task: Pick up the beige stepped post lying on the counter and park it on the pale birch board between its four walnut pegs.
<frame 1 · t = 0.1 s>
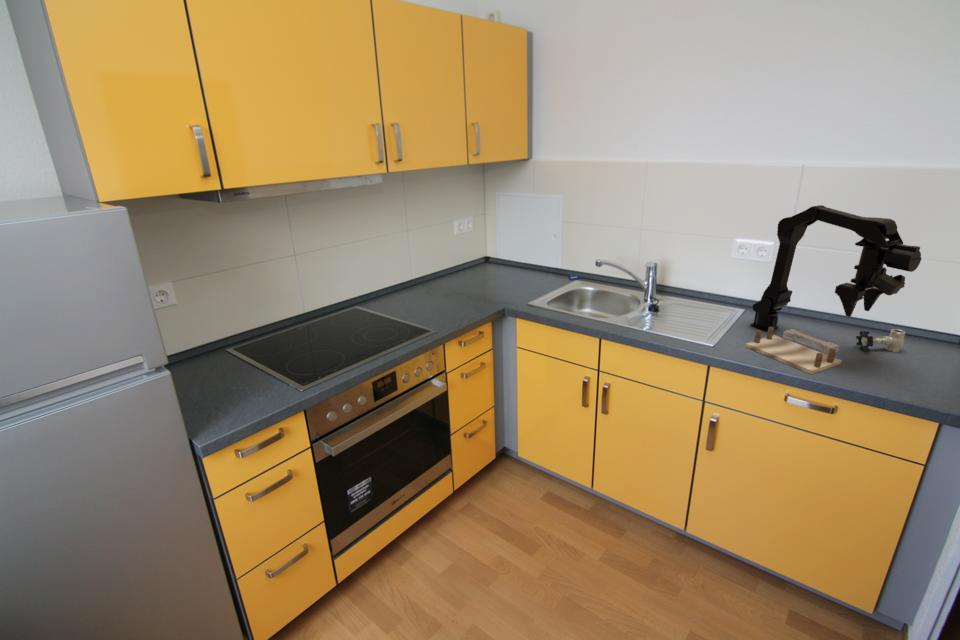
hand: (857, 313, 150), 14 cm above the worktop, tool pointing down, fingers open, 9 cm apart
valve: (879, 350, 159), on the worktop
beige stepped post: (808, 344, 164), on the worktop
peg board: (790, 354, 158), on the worktop
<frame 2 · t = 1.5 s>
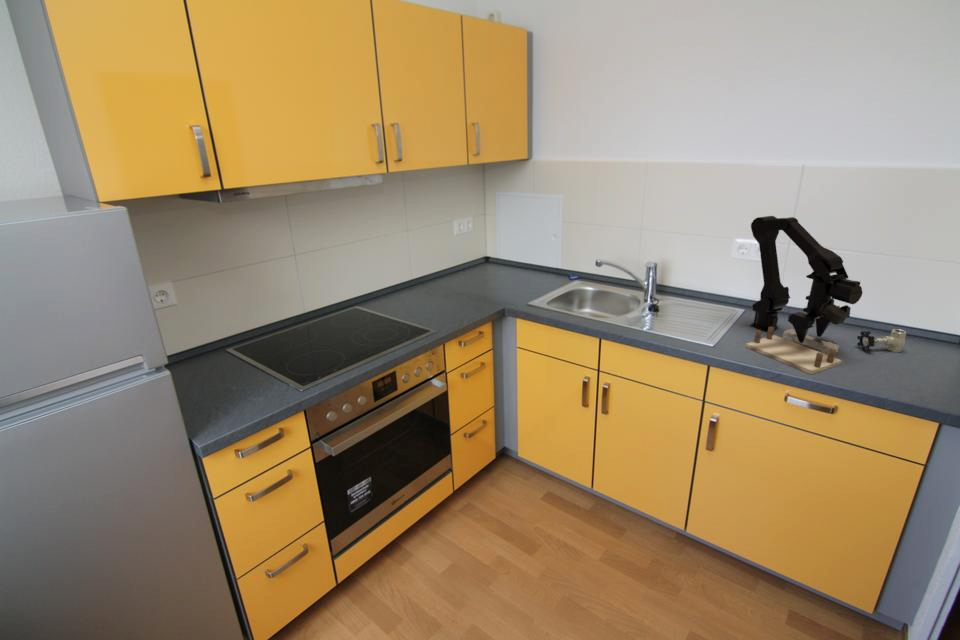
hand: (810, 339, 163), 2 cm above the worktop, tool pointing down, fingers open, 9 cm apart
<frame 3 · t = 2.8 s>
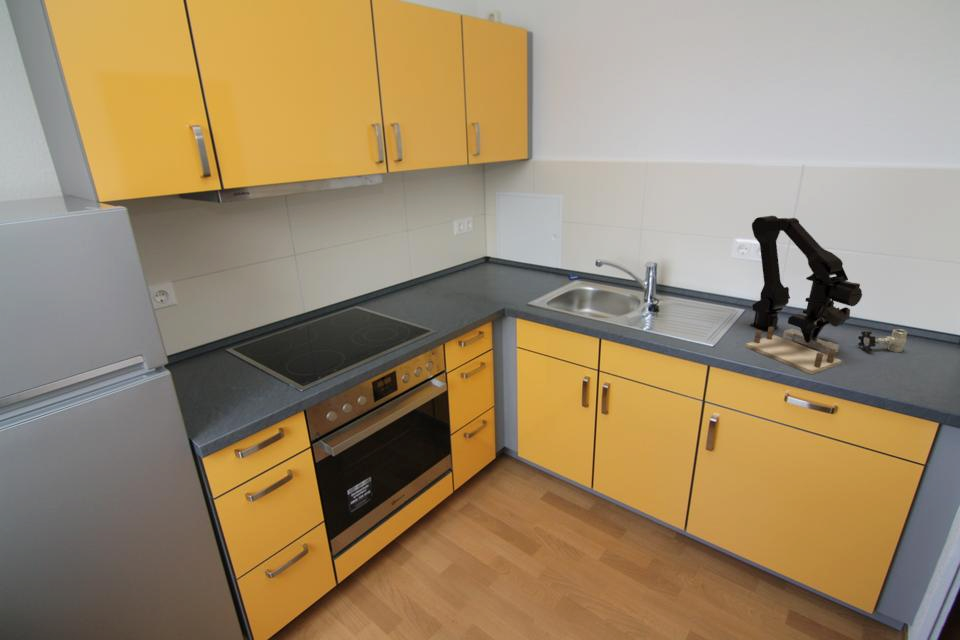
hand: (809, 341, 164), 1 cm above the worktop, tool pointing down, fingers closed on beige stepped post, 2 cm apart
beige stepped post: (809, 344, 164), on the worktop, touching gripper
everything else where it was.
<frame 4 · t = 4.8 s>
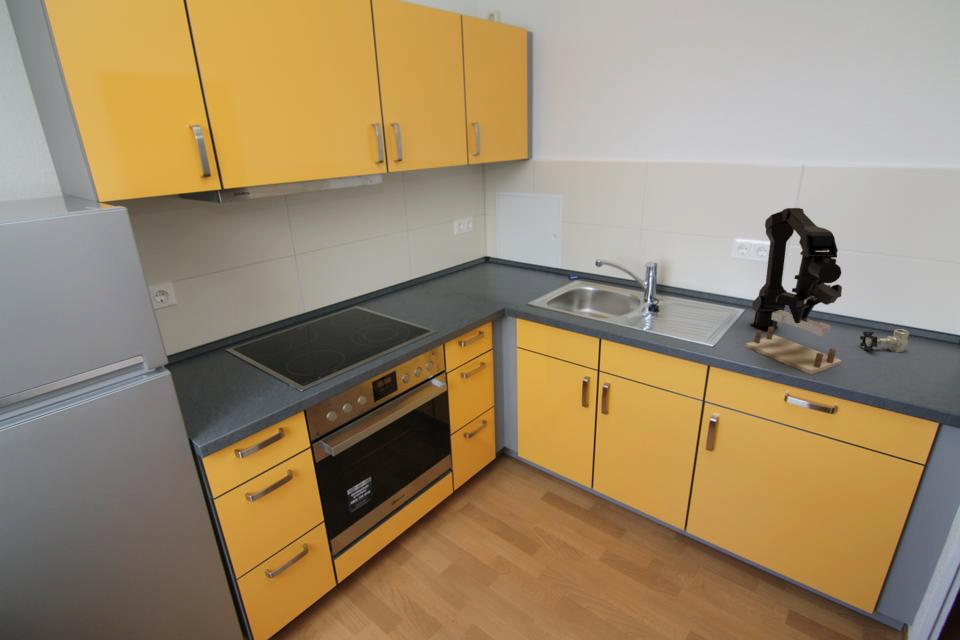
hand: (799, 322, 154), 11 cm above the worktop, tool pointing down, fingers closed on beige stepped post, 2 cm apart
beige stepped post: (799, 326, 154), point 10 cm above the worktop, touching gripper
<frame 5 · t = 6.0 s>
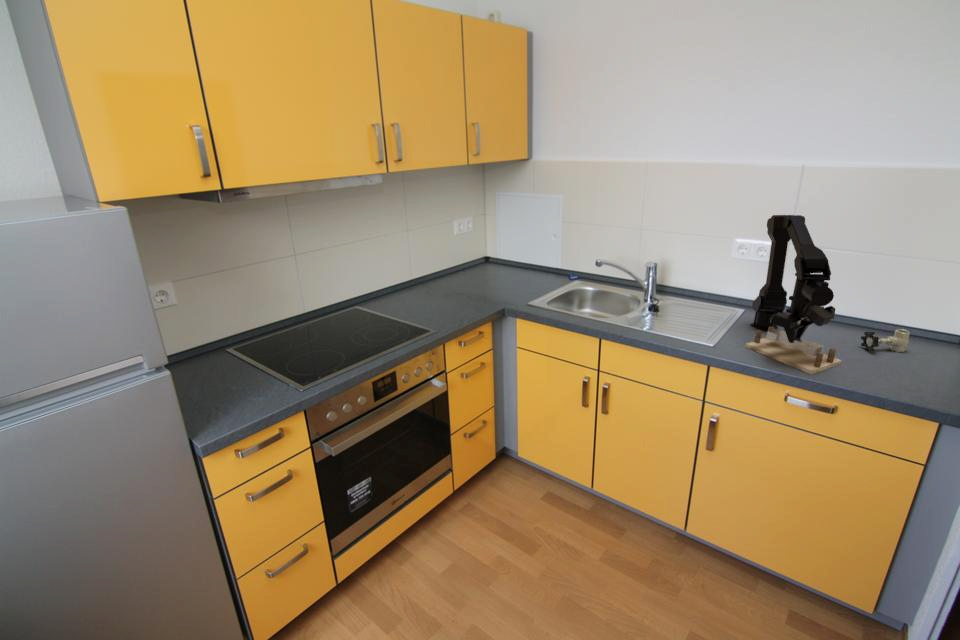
hand: (793, 341, 156), 5 cm above the worktop, tool pointing down, fingers closed on beige stepped post, 2 cm apart
beige stepped post: (793, 345, 156), point 3 cm above the worktop, touching gripper
when the fingers open (4 cm above the worktop, at t = 6.7 s): beige stepped post drops 1 cm, resting on peg board.
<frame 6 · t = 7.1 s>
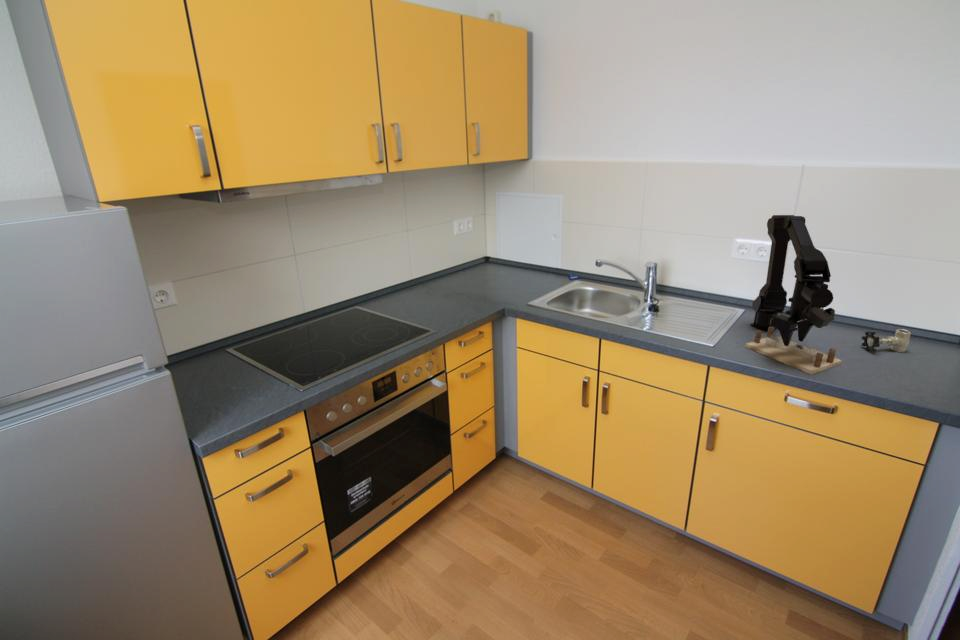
hand: (793, 343, 156), 4 cm above the worktop, tool pointing down, fingers open, 7 cm apart
beige stepped post: (792, 351, 157), point 1 cm above the worktop, touching peg board
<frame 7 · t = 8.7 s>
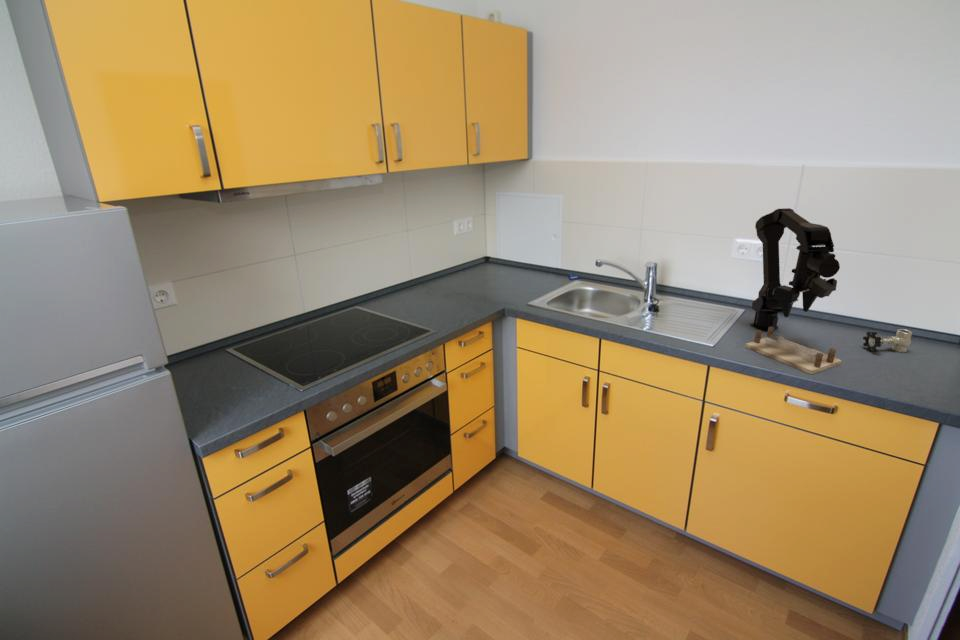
hand: (795, 314, 159), 11 cm above the worktop, tool pointing down, fingers open, 9 cm apart
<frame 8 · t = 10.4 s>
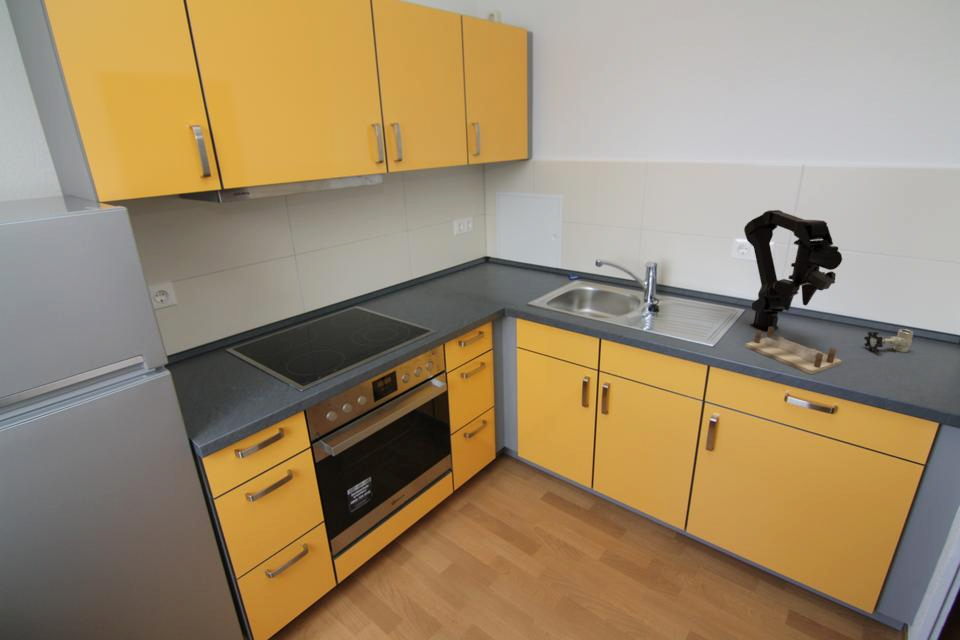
hand: (795, 307, 163), 12 cm above the worktop, tool pointing down, fingers open, 9 cm apart
at the end: beige stepped post 0.1 cm off-centre on the peg board, point 1.2 cm above the peg board's base; the gripper is holding nothing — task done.
